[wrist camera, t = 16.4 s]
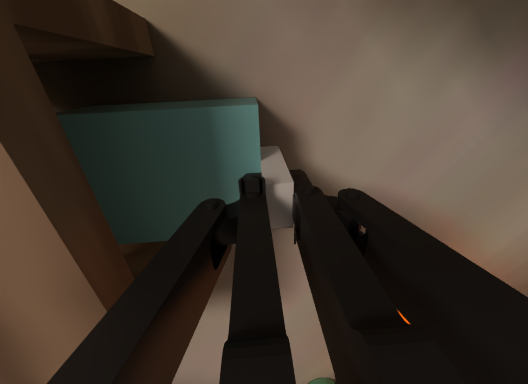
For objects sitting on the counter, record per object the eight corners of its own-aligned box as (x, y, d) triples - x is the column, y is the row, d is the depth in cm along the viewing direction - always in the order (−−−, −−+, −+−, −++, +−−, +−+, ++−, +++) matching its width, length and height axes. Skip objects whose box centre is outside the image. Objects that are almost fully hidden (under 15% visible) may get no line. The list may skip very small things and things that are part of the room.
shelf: (83, 255, 22) (-66, 415, 12) (-51, 27, 13) (-1213, -170, 3) (200, 246, 23) (158, 393, 12) (145, 19, 14) (-203, -180, 3)
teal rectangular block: (255, 97, 16) (258, 104, 12) (261, 200, 20) (264, 233, 16) (92, 105, 16) (32, 116, 11) (133, 208, 20) (100, 245, 16)
